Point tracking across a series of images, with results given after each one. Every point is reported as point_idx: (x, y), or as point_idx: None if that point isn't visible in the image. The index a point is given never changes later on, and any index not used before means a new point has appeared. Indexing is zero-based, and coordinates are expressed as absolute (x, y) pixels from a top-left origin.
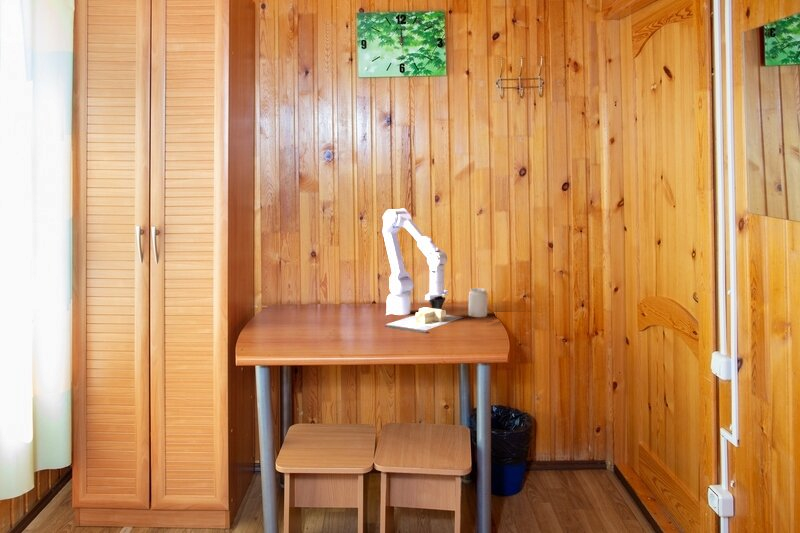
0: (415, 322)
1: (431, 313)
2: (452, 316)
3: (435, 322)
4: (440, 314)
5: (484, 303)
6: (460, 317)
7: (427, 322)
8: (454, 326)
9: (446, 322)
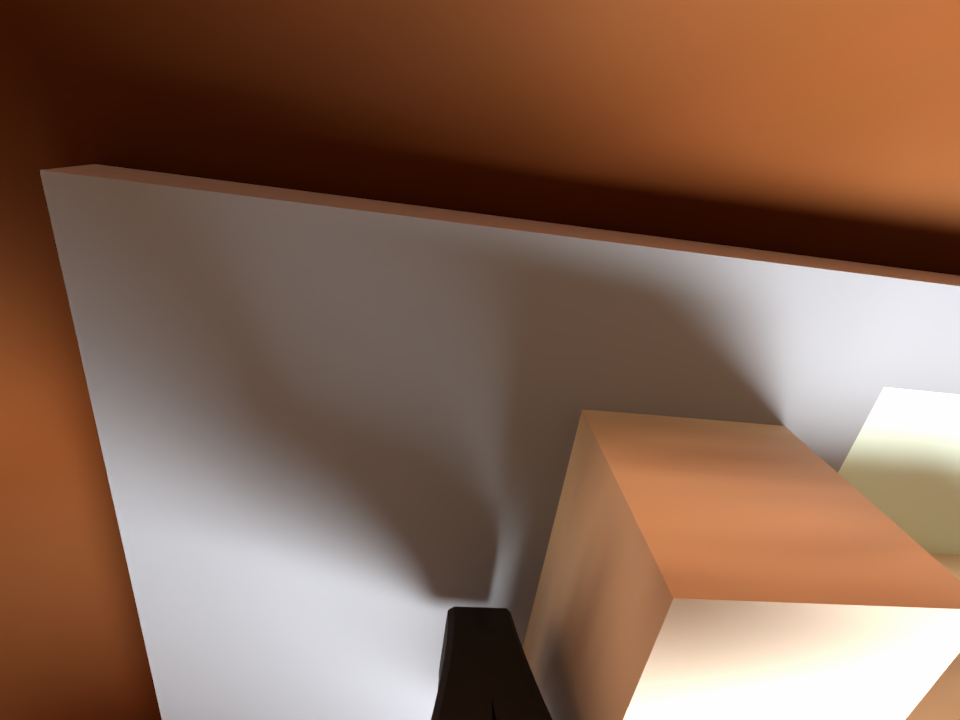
0: None
1: (948, 702)
2: (167, 430)
3: (864, 474)
4: (910, 543)
5: None
6: (124, 220)
7: (940, 561)
8: (834, 80)
9: (831, 298)
